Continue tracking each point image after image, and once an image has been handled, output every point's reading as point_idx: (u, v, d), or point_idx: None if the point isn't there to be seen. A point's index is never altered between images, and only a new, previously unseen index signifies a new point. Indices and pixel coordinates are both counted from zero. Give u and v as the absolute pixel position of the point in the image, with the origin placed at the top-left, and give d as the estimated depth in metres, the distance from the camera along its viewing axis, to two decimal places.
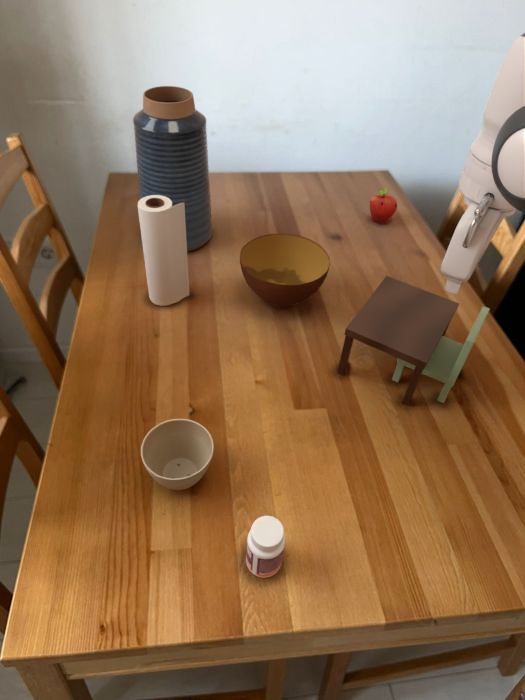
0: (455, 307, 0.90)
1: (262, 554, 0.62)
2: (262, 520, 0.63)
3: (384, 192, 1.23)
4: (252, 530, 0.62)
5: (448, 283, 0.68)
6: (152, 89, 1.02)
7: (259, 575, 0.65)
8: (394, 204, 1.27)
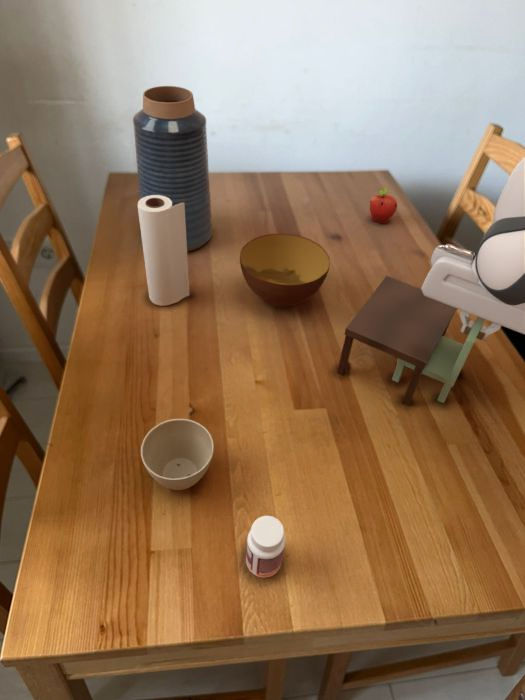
0: None
1: (262, 554, 0.62)
2: (262, 520, 0.63)
3: (384, 192, 1.23)
4: (252, 530, 0.62)
5: None
6: (152, 89, 1.02)
7: (259, 575, 0.65)
8: (394, 204, 1.27)
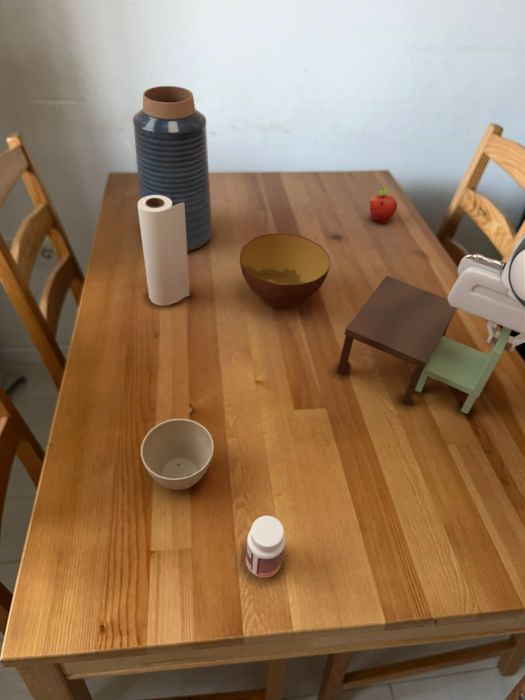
0: None
1: (262, 554, 0.62)
2: (262, 520, 0.63)
3: (384, 192, 1.23)
4: (252, 530, 0.62)
5: None
6: (152, 89, 1.02)
7: (259, 575, 0.65)
8: (394, 204, 1.27)
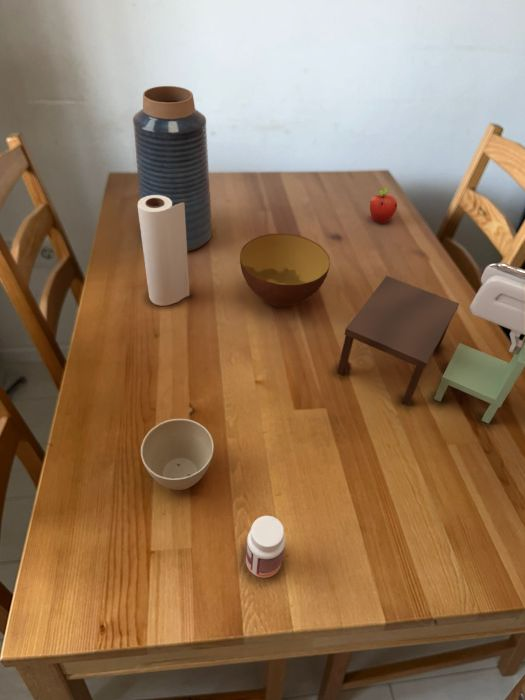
0: (455, 307, 0.90)
1: (262, 554, 0.62)
2: (262, 520, 0.63)
3: (384, 192, 1.23)
4: (252, 530, 0.62)
5: None
6: (152, 89, 1.02)
7: (259, 575, 0.65)
8: (394, 204, 1.27)
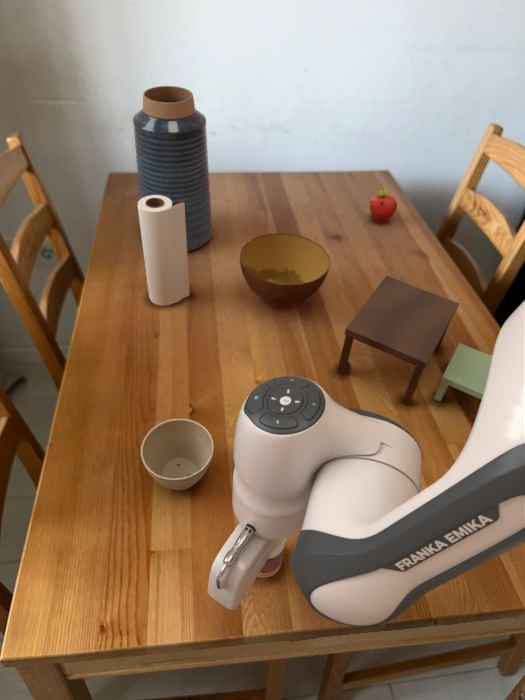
0: (455, 307, 0.90)
1: None
2: None
3: (384, 192, 1.23)
4: None
5: None
6: (152, 89, 1.02)
7: (259, 575, 0.65)
8: (394, 204, 1.27)
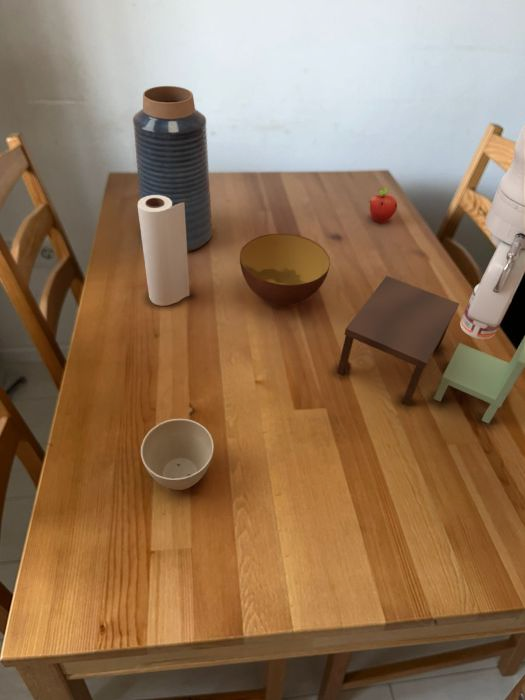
0: (455, 307, 0.90)
1: None
2: None
3: (384, 192, 1.23)
4: None
5: None
6: (152, 89, 1.02)
7: (480, 335, 0.68)
8: (394, 204, 1.27)
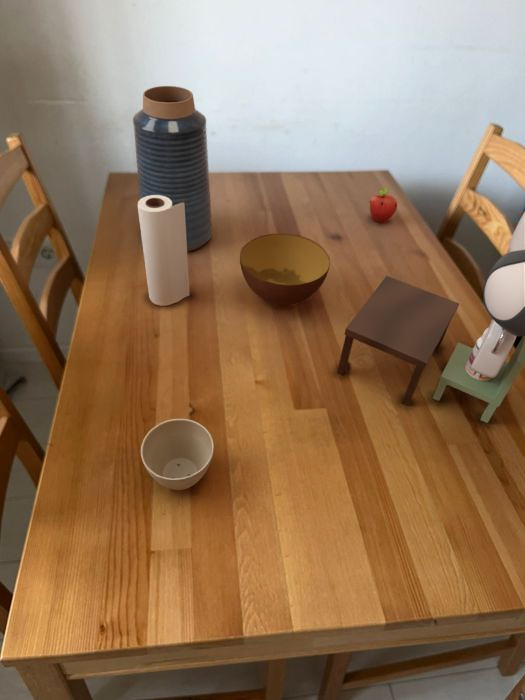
0: (455, 307, 0.90)
1: None
2: None
3: (384, 192, 1.23)
4: None
5: None
6: (152, 89, 1.02)
7: (481, 378, 0.84)
8: (394, 204, 1.27)
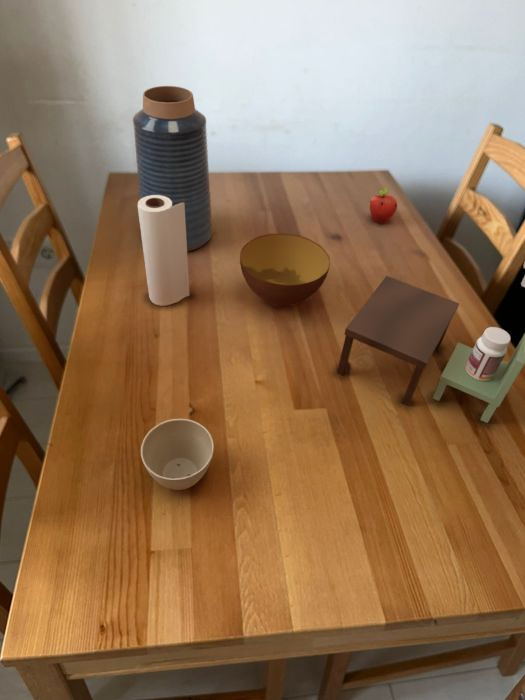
0: (455, 307, 0.90)
1: (494, 353, 0.80)
2: (490, 329, 0.82)
3: (384, 192, 1.23)
4: (486, 334, 0.80)
5: None
6: (152, 89, 1.02)
7: (481, 378, 0.84)
8: (394, 204, 1.27)
